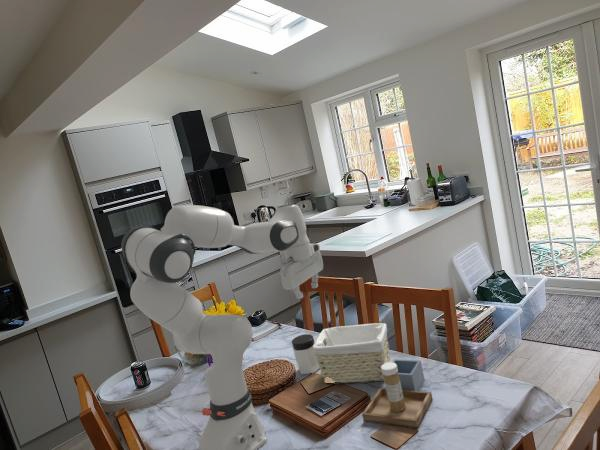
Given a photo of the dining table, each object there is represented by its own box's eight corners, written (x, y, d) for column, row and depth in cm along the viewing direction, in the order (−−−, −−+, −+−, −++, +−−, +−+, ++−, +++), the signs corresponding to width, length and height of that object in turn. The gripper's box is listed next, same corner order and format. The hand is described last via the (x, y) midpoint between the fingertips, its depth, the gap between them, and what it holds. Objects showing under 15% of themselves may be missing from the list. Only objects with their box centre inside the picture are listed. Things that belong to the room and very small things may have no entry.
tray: (417, 428, 124) (416, 420, 124) (363, 421, 133) (362, 414, 133) (432, 399, 136) (431, 392, 135) (382, 394, 145) (380, 387, 144)
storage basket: (395, 359, 165) (386, 320, 163) (390, 383, 150) (381, 341, 148) (331, 364, 173) (322, 327, 171) (320, 388, 158) (310, 348, 156)
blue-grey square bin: (415, 394, 140) (411, 375, 139) (388, 392, 145) (384, 373, 144) (424, 379, 147) (420, 360, 146) (398, 377, 152) (394, 359, 151)
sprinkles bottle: (396, 402, 138) (387, 360, 136) (409, 406, 134) (399, 363, 132) (387, 410, 135) (377, 367, 133) (399, 414, 131) (389, 371, 129)
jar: (309, 376, 167) (301, 345, 166) (294, 372, 173) (286, 342, 172) (325, 365, 173) (318, 335, 171) (310, 361, 179) (303, 332, 177)
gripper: (288, 262, 141) (298, 305, 143) (321, 243, 157) (330, 281, 160) (272, 263, 145) (282, 305, 147) (306, 244, 161) (315, 282, 163)
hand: (308, 292), depth 153 cm, fingers open, 8 cm apart
